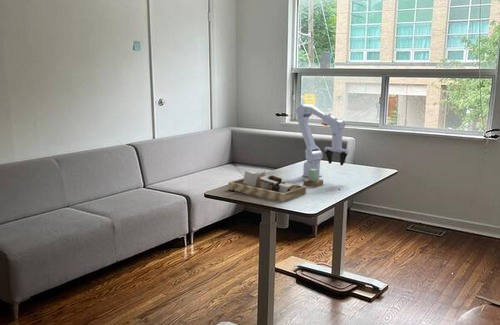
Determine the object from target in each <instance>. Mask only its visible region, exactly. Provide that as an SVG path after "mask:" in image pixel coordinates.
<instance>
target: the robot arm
mask: <svg viewBox="0 0 500 325" xmlns="http://www.w3.org/2000/svg"><path fill="white" fill-rule="evenodd" d="M295 112H296V116H297V123H298V125H299V128H300V132H301V134H302V137H303V141H304V144H305V146H306V149H305V150H304V153H305V159H306V160H305V161H304V162H303V172H302V173H303V174H302V176H303V177H308V172H309V169H318V170H319V172H318V178H319V177H322V176H323V175H322V174H320V173H321V160H322V159H323V157H324V154H323V151H322V150H321V149H320V147H319V146H318V145H316V142H315V139H314V136H313V133H312V130H311V128H310V127H311V126H310V125H309V122H308V120H309V119H310V117H311V116H312V115H314V116H315V117H318V118H319V119H321V120H322V122H323V123H324V124H325V125H327V126H329V128H330V129H331V147H330V146H325V147H324V151H325V152H324V153H325V155H326V157H327V160H328V164H329V165H330V164H332V162H333V154H334V152H335V153H339V157H340V158H339V161H340V163H339V164H340V166H344V163H345V160H346V158H347V156H348V154H349V153H350V150H349V149H345V148H343V132H344V131H343V130H344V128H345V127H346V123H345V122H344V120H343V119H338V117H334V115H332V114H331V113H325V112H324V111H322V110H320V109H319V108H317V107H316V106H315V105H314V104H313V103H307V104H304V103H303V104H299V105H297V108H296V109H295Z"/></svg>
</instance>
